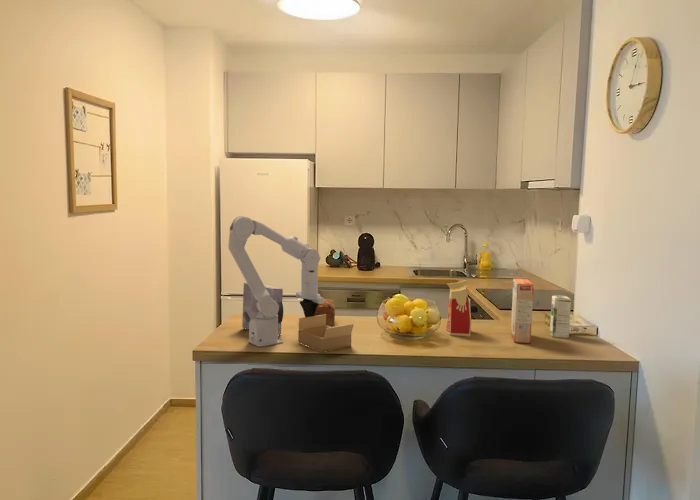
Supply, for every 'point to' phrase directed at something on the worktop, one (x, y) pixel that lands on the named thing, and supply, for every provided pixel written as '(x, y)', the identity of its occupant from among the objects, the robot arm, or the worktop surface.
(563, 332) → the syrup box
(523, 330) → the cracker box
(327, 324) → the bread
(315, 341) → the carton
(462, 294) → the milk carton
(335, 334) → the near flap
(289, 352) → the worktop surface
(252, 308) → the cake pan box
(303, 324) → the far flap
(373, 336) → the worktop surface
